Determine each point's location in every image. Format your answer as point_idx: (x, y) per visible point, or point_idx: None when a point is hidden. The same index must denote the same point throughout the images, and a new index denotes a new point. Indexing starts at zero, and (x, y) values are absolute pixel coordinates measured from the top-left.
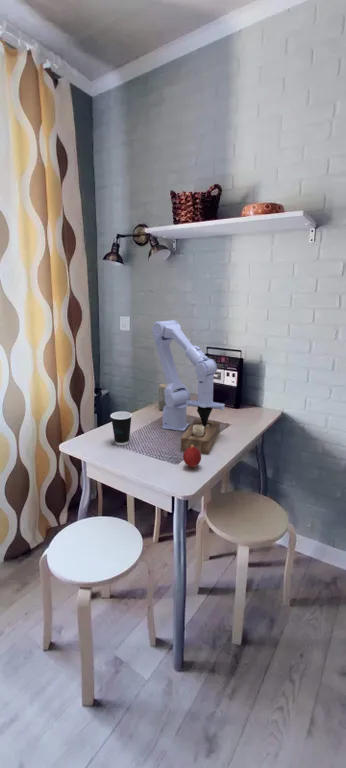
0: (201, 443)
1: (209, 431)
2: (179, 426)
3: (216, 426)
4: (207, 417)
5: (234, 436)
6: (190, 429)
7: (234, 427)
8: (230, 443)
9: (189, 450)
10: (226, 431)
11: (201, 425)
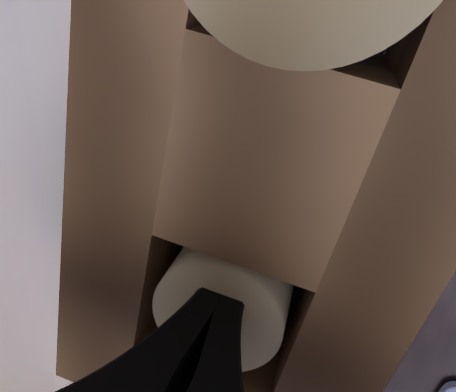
0: None
1: (134, 92)
2: None
3: (68, 264)
4: (107, 365)
5: (5, 233)
6: (450, 175)
7: (33, 377)
8: (8, 88)
9: None
10: None
11: (223, 10)
